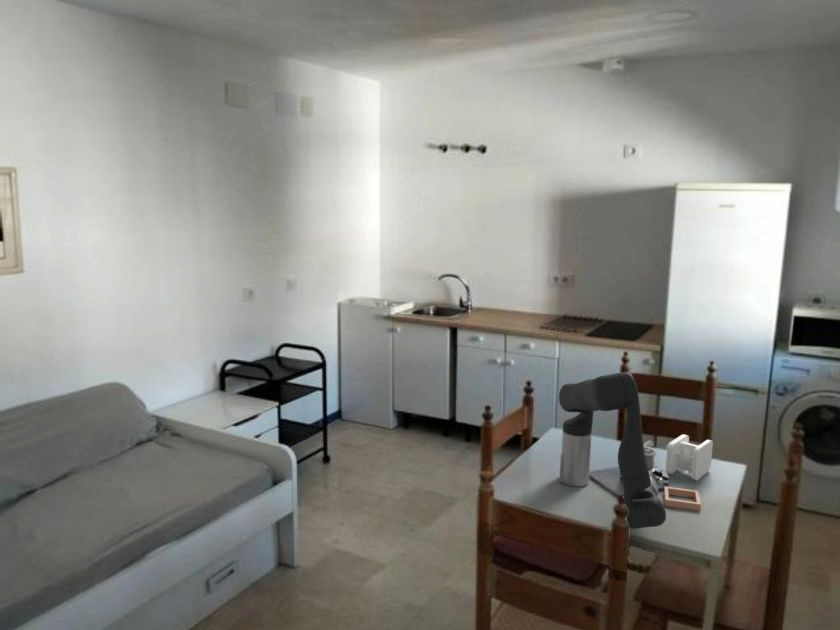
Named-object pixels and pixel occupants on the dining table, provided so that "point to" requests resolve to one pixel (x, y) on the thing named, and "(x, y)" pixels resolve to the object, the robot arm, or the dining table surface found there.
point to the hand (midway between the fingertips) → (643, 466)
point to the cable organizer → (689, 456)
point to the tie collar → (680, 503)
